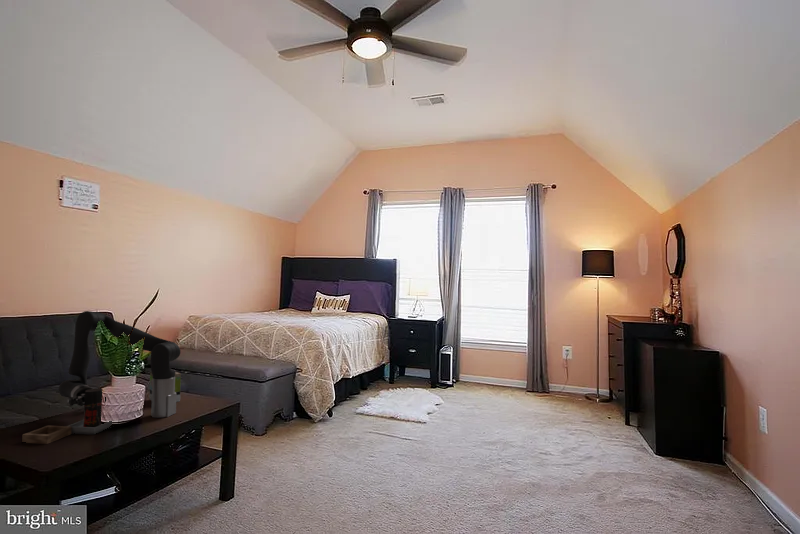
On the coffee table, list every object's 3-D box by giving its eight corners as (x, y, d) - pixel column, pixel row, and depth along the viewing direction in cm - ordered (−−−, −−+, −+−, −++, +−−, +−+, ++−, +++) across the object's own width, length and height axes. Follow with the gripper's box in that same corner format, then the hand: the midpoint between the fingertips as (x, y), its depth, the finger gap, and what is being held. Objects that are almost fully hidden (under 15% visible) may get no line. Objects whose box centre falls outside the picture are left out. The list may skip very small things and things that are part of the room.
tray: (118, 423, 182) (118, 417, 182) (94, 434, 169) (94, 428, 169) (90, 422, 183) (90, 416, 183) (64, 433, 170) (64, 426, 170)
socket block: (71, 434, 169) (71, 426, 169) (47, 443, 158) (47, 435, 158) (47, 432, 170) (47, 425, 170) (22, 442, 159) (22, 434, 159)
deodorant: (80, 427, 175) (82, 390, 175) (96, 423, 180) (97, 387, 180) (88, 429, 172) (89, 392, 172) (103, 425, 177) (105, 389, 178)
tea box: (148, 400, 219) (149, 371, 219) (168, 396, 226) (169, 368, 227) (159, 405, 209) (160, 375, 210) (180, 401, 217) (181, 372, 217)
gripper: (63, 388, 181) (73, 395, 170) (102, 383, 191) (114, 389, 181) (62, 406, 180) (72, 414, 170) (101, 399, 191) (113, 406, 181)
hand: (94, 401), depth 176 cm, fingers open, 8 cm apart
